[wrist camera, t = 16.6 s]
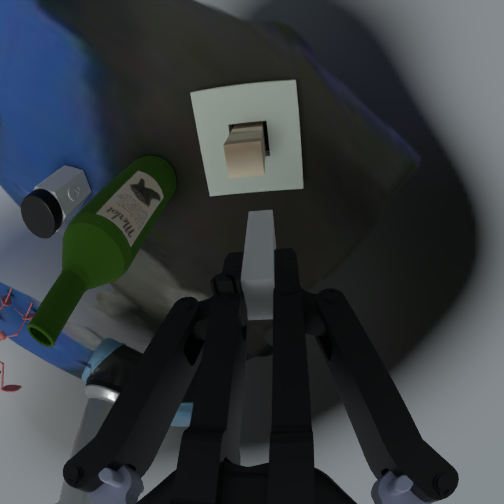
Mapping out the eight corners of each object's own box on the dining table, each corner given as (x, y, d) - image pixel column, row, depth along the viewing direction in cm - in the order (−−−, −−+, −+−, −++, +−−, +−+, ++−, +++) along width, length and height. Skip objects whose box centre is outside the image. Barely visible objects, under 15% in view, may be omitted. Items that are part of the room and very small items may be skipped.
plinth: (301, 180, 44) (303, 188, 42) (213, 188, 46) (209, 196, 43) (293, 79, 35) (295, 80, 32) (195, 90, 36) (190, 92, 34)
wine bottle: (188, 178, 45) (94, 351, 19) (157, 212, 49) (69, 375, 23) (147, 143, 41) (4, 282, 15) (120, 181, 45) (1, 324, 19)
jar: (97, 201, 48) (63, 237, 38) (68, 209, 49) (35, 243, 39) (80, 158, 43) (40, 187, 33) (51, 170, 44) (13, 199, 34)
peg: (266, 146, 41) (264, 175, 32) (238, 149, 42) (228, 179, 32) (263, 120, 39) (260, 140, 29) (234, 123, 39) (222, 144, 30)
